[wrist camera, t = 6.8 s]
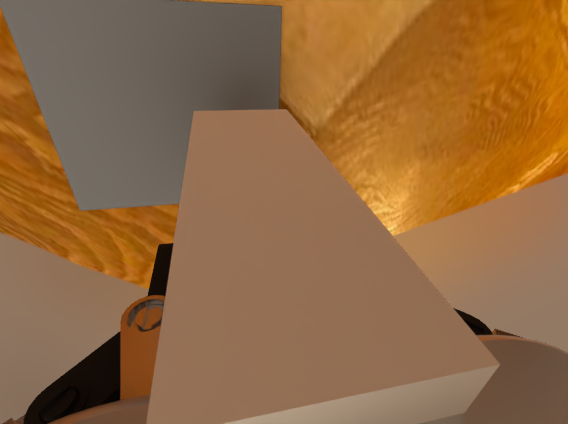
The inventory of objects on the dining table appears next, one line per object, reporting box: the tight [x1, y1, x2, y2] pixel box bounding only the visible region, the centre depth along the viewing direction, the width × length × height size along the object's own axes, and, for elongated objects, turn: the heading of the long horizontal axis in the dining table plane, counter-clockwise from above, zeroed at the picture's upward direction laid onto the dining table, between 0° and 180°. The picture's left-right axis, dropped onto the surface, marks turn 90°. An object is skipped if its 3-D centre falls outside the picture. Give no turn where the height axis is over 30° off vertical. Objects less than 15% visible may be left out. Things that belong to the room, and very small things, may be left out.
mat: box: [0, 0, 282, 211], centre depth 25 cm, size 18×16×1 cm
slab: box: [146, 109, 500, 424], centre depth 10 cm, size 4×8×12 cm, turn 178°
